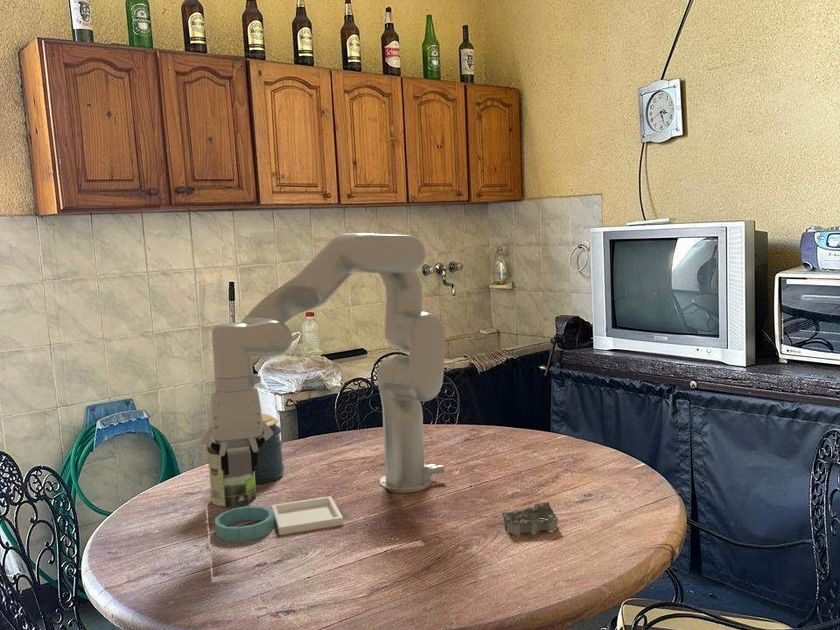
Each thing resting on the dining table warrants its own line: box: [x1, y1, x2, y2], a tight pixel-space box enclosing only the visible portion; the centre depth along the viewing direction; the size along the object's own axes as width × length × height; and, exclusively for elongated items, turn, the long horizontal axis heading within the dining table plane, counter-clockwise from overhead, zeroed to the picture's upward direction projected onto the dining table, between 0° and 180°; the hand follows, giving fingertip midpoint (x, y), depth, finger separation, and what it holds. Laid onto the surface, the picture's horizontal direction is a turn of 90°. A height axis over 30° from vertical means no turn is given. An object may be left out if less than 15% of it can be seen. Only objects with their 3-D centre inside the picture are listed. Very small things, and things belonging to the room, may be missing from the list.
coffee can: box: [206, 439, 257, 508], centre depth 167 cm, size 10×10×14 cm
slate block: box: [227, 446, 252, 477], centre depth 149 cm, size 4×4×4 cm
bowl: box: [214, 505, 275, 543], centre depth 150 cm, size 12×12×4 cm
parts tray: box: [271, 495, 344, 536], centre depth 155 cm, size 13×13×2 cm
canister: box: [255, 413, 285, 485], centre depth 184 cm, size 13×13×18 cm
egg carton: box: [501, 501, 559, 536], centre depth 148 cm, size 11×8×4 cm
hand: (239, 470), depth 149 cm, fingers closed on slate block, 4 cm apart
